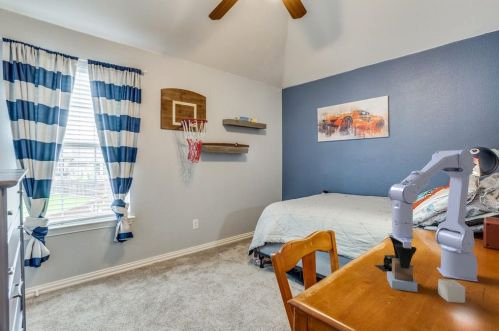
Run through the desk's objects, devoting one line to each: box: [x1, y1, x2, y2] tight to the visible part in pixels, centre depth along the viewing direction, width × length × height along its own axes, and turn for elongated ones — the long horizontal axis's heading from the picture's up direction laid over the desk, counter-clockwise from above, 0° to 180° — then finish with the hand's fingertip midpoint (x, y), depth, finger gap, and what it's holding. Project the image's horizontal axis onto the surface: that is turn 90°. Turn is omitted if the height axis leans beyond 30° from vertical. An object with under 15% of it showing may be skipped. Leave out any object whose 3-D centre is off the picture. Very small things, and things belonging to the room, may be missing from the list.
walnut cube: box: [391, 258, 414, 281], centre depth 83 cm, size 5×5×5 cm
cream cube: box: [437, 278, 466, 304], centre depth 75 cm, size 4×4×4 cm
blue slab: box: [386, 271, 419, 293], centre depth 83 cm, size 7×7×3 cm
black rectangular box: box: [374, 254, 396, 273], centre depth 96 cm, size 13×8×5 cm, turn 95°
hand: (401, 263), depth 83 cm, fingers open, 7 cm apart
